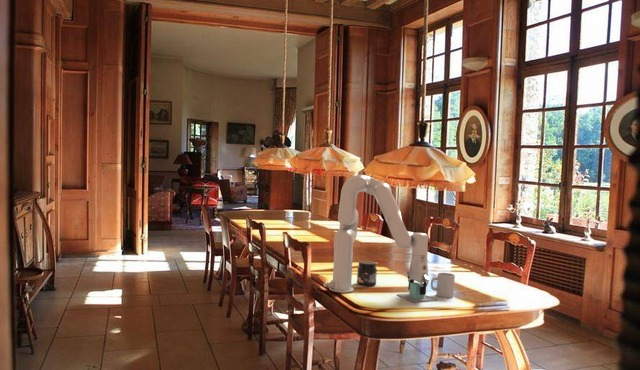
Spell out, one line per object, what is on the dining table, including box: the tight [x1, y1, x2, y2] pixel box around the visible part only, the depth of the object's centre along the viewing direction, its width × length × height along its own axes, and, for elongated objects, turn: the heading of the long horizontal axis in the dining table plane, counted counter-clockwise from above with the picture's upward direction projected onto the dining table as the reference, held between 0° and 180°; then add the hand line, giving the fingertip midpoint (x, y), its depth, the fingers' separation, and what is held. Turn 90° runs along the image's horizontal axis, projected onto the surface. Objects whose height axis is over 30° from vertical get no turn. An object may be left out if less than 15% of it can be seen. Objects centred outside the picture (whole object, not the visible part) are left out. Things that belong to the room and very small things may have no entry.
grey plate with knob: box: [396, 293, 438, 304], centre depth 264 cm, size 14×14×6 cm
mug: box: [430, 272, 456, 299], centre depth 272 cm, size 12×8×11 cm
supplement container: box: [356, 260, 378, 288], centre depth 288 cm, size 10×10×12 cm
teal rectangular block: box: [408, 281, 424, 299], centre depth 264 cm, size 5×5×7 cm
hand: (416, 292), depth 264 cm, fingers open, 9 cm apart
